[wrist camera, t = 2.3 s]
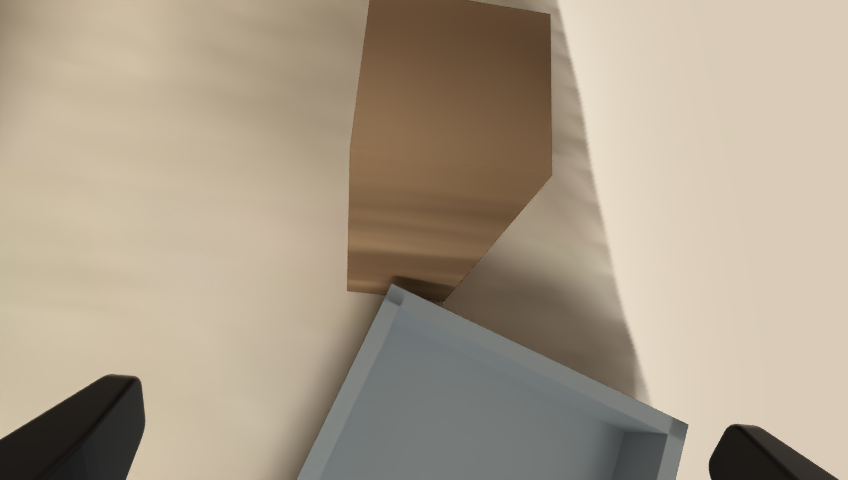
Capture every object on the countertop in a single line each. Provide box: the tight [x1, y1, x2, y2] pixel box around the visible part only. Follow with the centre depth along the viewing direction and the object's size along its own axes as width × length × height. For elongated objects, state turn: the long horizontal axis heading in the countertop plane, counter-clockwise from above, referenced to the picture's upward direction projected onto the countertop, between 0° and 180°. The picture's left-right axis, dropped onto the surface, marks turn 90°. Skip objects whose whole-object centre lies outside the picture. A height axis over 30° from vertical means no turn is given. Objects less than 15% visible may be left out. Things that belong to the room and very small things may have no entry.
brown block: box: [347, 0, 552, 301], centre depth 16 cm, size 4×4×12 cm
